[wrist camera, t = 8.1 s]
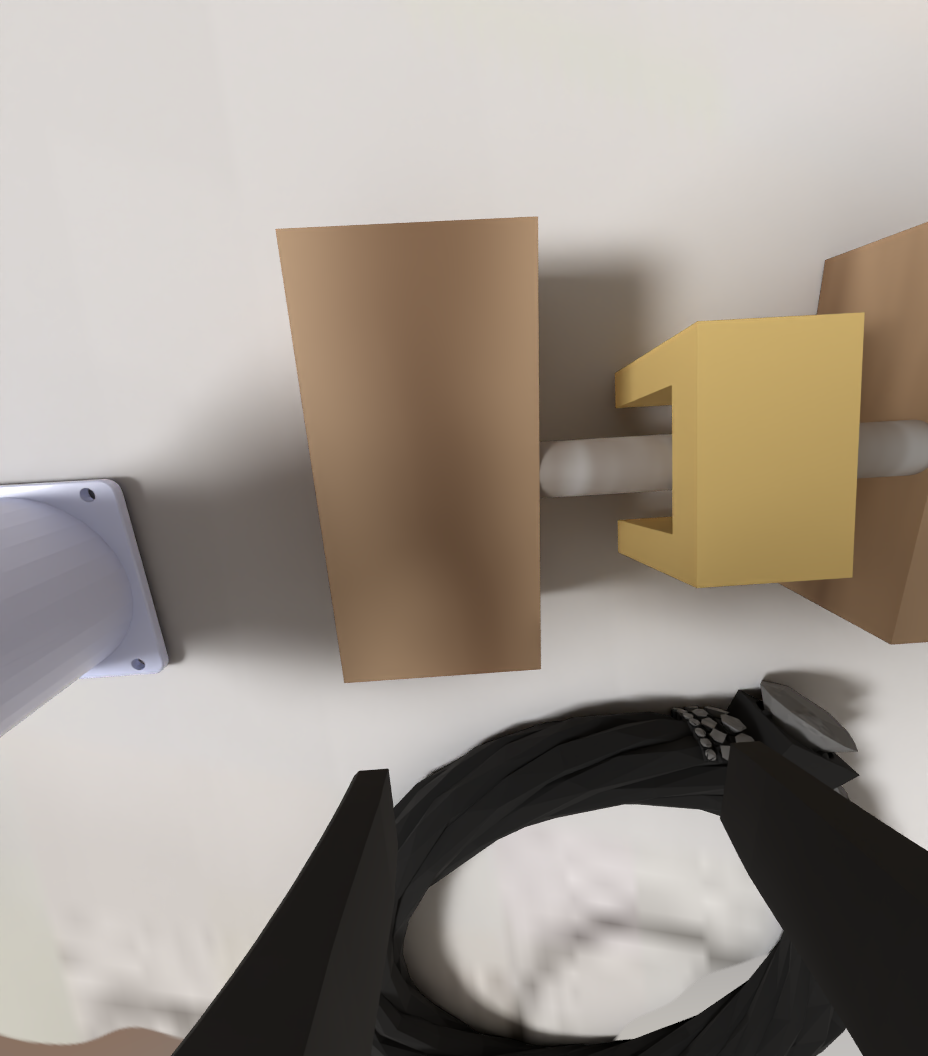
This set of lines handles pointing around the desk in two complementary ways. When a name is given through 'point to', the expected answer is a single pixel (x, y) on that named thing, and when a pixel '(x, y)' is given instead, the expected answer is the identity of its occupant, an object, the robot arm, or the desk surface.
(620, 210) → the desk surface
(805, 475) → the yellow block
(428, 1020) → the cable lock
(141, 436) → the desk surface
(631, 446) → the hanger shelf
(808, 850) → the robot arm
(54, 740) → the desk surface
